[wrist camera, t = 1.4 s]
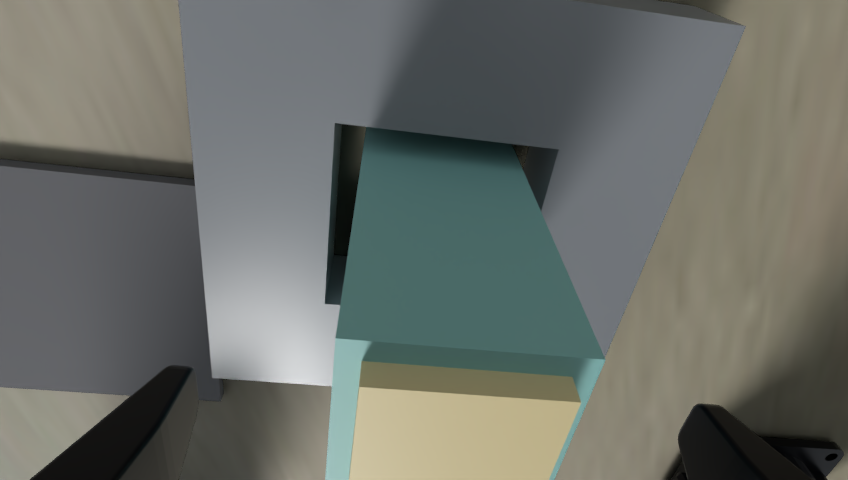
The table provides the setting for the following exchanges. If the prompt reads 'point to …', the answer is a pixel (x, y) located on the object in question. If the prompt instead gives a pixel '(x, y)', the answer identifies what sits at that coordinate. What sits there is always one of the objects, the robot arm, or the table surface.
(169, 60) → the table surface
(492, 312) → the plug
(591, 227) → the grey square socket block
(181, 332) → the pad
